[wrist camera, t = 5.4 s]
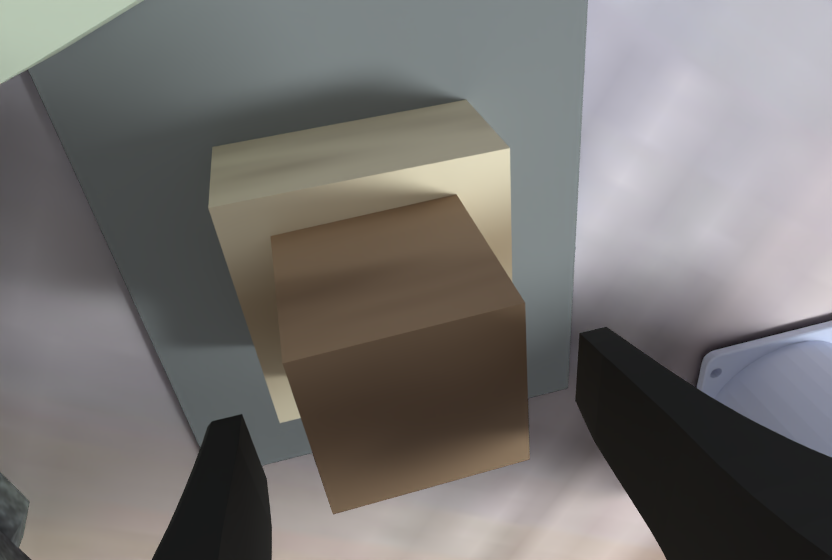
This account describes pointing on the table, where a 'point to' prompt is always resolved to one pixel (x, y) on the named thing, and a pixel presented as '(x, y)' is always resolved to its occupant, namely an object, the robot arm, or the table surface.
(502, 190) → the beech block
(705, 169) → the table surface
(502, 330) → the walnut cube
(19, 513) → the mortar and pestle
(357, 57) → the slate mat
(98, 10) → the sage block
